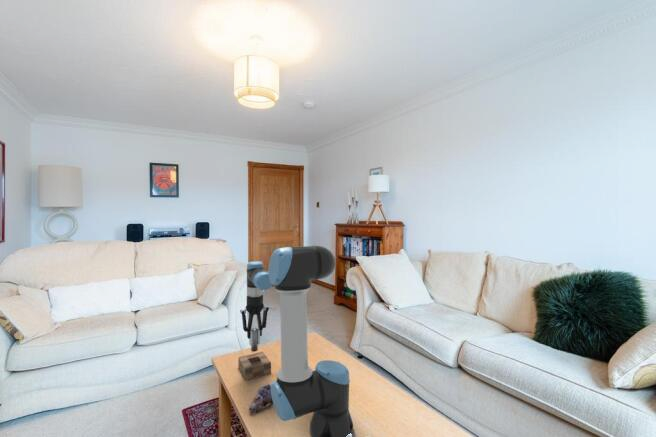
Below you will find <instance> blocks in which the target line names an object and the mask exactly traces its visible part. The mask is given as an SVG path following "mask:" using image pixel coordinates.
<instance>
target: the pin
mask: <svg viewBox="0 0 656 437" xmlns="http://www.w3.org/2000/svg"><path fill="white" fill-rule="evenodd" d="M258 329H259V328H258V327H253V328H251V331H252V332H253V337H252V346H250V351H251V352H253V353H256V352H257V351H258V350H259V348H258V347H259V344H258Z"/></svg>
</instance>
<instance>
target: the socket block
mask: <svg viewBox="0 0 656 437" xmlns="http://www.w3.org/2000/svg"><path fill="white" fill-rule="evenodd" d="M237 364H238V365H237V367H238V369H239V371H240V373H241V375H242V377H243V378H244V380H245V381H246V380H251V379H255V378H257V377H258V378H259V377H261V376H265V375H268V374H271V373H272V362H271V360H270V359H269V357H267V355H266V354H265V352H264V351H259V352H254V353H251V354H246V355H243V356H239V357H238V363H237Z"/></svg>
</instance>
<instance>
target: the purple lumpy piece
mask: <svg viewBox="0 0 656 437" xmlns="http://www.w3.org/2000/svg"><path fill="white" fill-rule="evenodd" d="M265 404H266V405H265ZM272 404H273V400H272V396H271V384H270V383H268V384H267V385H263V386H261V387H260V388H259V389H258V391H257V394H256V395H255V396H254V397H253V400H252V403H251V404H250V405H249V407H248V411H251V413H253V412H254V413H253V415H255V414H256V412H257V413H259V412H261V411H263V410H265V409H267V408H268V407H269V406H271V405H272ZM264 405H265V406H264Z"/></svg>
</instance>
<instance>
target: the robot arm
mask: <svg viewBox="0 0 656 437" xmlns="http://www.w3.org/2000/svg"><path fill="white" fill-rule="evenodd" d="M268 263H269V264H268V269H264V268H265V267H264V263H263V262H262V261H260V260H258V261H249V262H247V264H246V270H245V271H246V306H245V308H244V309H240V311H239V312H240V314H241V320H242V322H241V323H242V329H243V331H244V332H246V333H247V335H246V337H247V339H248V341H249V342H248V344H249V346H250V347H251V346H252V337H253V332H252V331H251V329H252V326H253V321H254V320H253V319H254V316H256V320H257V329H258V345H260V344H261V337H262V336H263V329H265V328H267V320H268V319H267V318H268V311H269V310H270V307H269V306H268V305H264V295H263V294H264V291H268V290H269V289H271V288H272V287H273V288H275V289H274V290H275V291H276V292H277V293H278V294H279V303H280V304H279V309H280V310H279V313H280V317H279V318H280V353H281V357H280V358H281V359H280V360H281V361H280V362H281V367H280V368H279V370H278V371H277V372H276V380H274V381H272V382H271V384H270V385H271V396H272V400H273V403H272V404H273V407H274V410H275V413H276V414H277V416H278V418H279V419H280V420H281V421H283V422H287V421H288V422H289V421H291V420H296V419H297V418H300V417H304V416H307V415H309V414H312V413H313V414H312V416H311V419H310V422H309V435H310V437H346V436H347V435H348V434H350V433H351V434H353V435H354V422H353V419H352V416H351V413H350V408H349V405H350V382H351V380H350V373H349V372H350V371H349V369H348V368H347V366H346V365H344V364H343V363H341V362H339V361H335V360H329V359H327V360H326V359H325V360H320V361H319V362H317V363H316V365H315V367H314V368H315V370H313V369H312V368H311V367H310V366H309V363H308V361H309V359H308V356H309V355H308V352H309V351H308V319H307V318H308V314H307V313H308V312H307V309H308V308H307V306H308V305H307V293H308V291H309V290H310V289H311V288H312V287H311V286H312V285H311V282H313V281H318V280H324V279H326V278H328V277H330V275H332V273H334V271H335V269H336V258H335V255H334V253H333V252H332V251H331V250H330V249H328V248H327V247H324V246H321V245H308V246H307V245H306V246H304V245H303V246H302V245H301V246H286V247H285V246H284V247H280V248H277V249H275V250H274V251H273V252H272V254H271V256H270V258H269V262H268ZM262 310H263V311H262ZM247 312H248V321H247ZM261 312H263V313H262V314H261ZM261 315H262V317H261Z"/></svg>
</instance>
